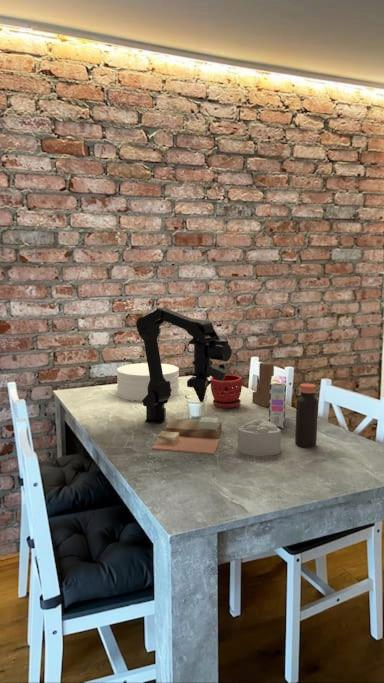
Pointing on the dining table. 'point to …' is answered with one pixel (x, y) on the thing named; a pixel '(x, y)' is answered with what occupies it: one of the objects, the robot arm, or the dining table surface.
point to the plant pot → (226, 391)
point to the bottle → (306, 417)
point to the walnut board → (192, 429)
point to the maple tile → (168, 438)
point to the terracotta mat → (191, 445)
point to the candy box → (277, 401)
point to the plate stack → (143, 380)
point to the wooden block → (264, 384)
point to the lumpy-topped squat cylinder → (259, 438)
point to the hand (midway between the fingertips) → (201, 401)
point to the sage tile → (209, 423)
